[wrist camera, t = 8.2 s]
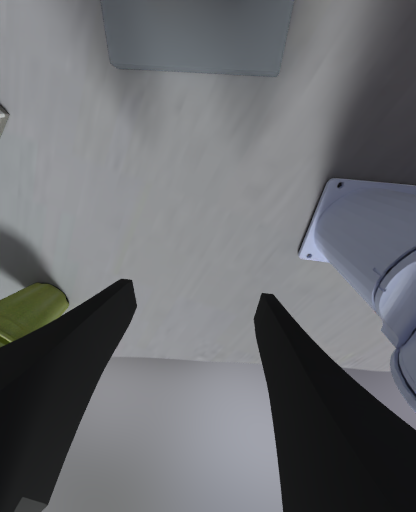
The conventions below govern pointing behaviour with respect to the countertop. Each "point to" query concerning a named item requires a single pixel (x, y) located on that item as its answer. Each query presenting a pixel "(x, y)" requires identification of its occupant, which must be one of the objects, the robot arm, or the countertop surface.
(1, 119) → the skyscraper
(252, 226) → the countertop surface
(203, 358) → the countertop surface
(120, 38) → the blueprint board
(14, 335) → the plant pot
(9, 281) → the countertop surface
